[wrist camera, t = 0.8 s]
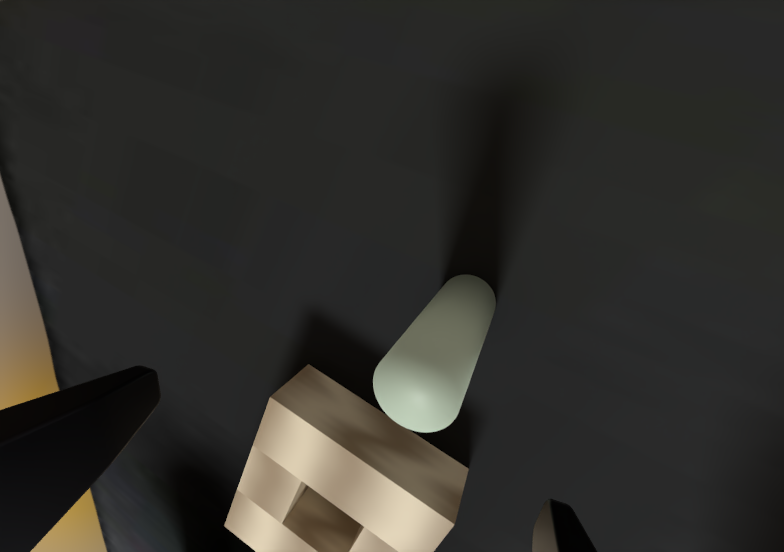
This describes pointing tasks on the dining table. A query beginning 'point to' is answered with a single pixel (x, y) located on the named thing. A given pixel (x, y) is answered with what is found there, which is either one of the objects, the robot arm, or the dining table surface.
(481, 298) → the peg
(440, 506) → the hole board
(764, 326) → the dining table surface
